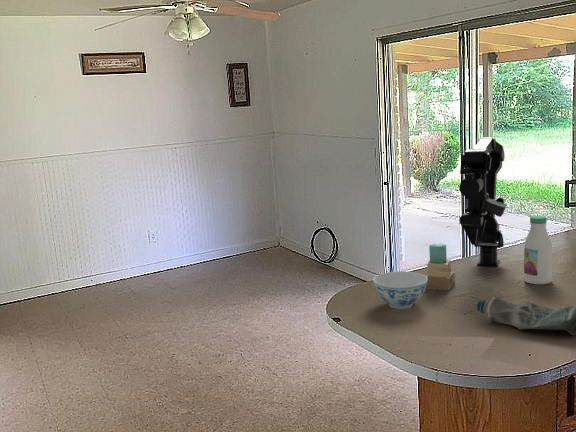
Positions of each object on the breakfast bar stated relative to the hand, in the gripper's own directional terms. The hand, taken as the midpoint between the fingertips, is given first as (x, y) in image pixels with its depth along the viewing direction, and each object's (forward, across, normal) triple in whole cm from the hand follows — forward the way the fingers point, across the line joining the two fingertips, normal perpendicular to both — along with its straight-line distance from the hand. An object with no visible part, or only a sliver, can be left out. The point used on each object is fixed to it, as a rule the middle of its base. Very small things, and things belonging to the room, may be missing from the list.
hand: (476, 240), depth 187 cm
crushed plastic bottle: (+12, -34, -20) cm, 41 cm away
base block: (+13, -9, +10) cm, 18 cm away
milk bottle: (+13, +4, -17) cm, 22 cm away
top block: (+9, -9, +10) cm, 16 cm away
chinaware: (+12, -29, +15) cm, 35 cm away
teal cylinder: (+5, -9, +10) cm, 14 cm away
